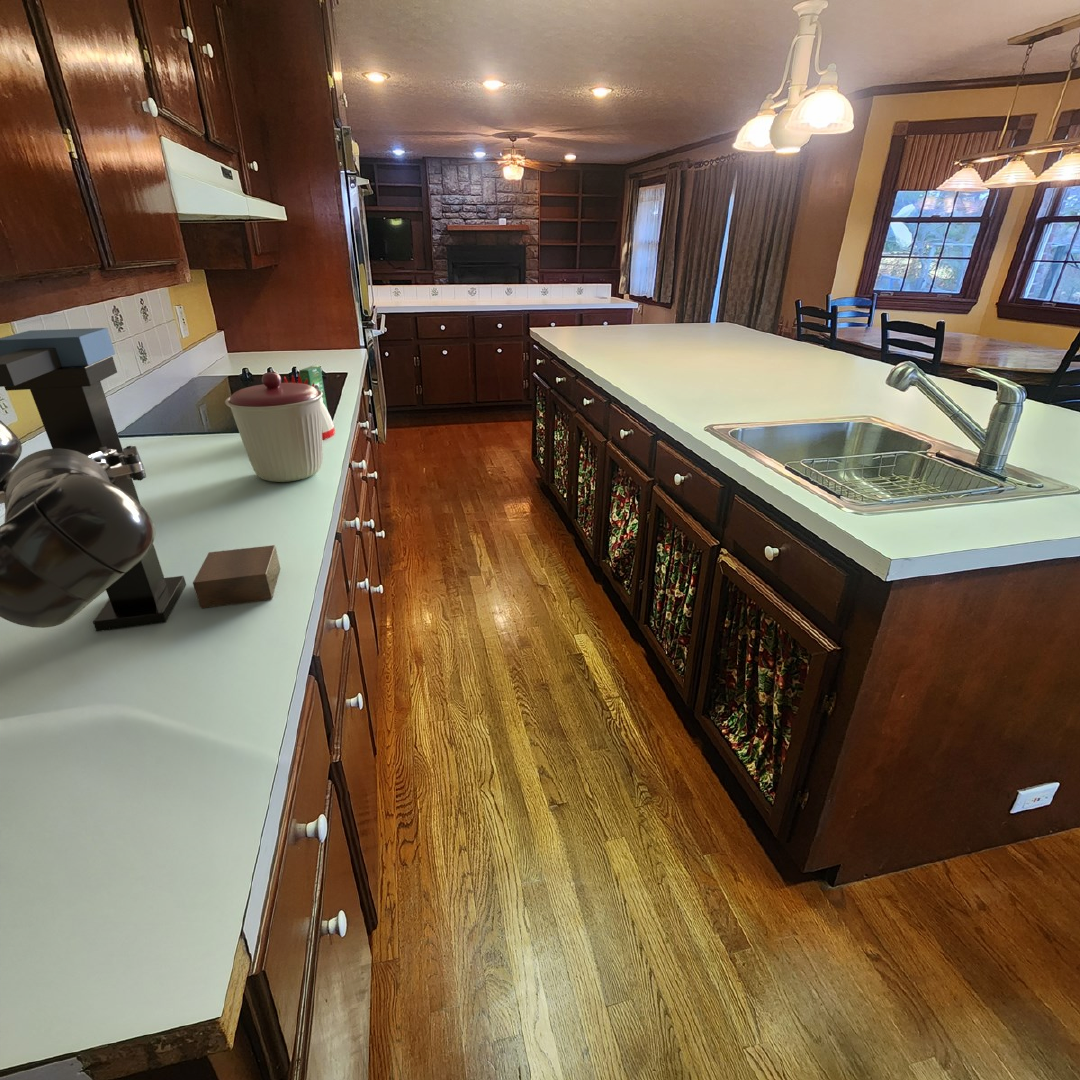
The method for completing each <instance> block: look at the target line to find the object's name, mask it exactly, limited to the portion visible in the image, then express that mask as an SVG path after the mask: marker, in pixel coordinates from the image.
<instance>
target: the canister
mask: <svg viewBox="0 0 1080 1080" xmlns="http://www.w3.org/2000/svg"><path fill="white" fill-rule="evenodd" d="M261 382H262V384H255V385H252V386H248V387H244V388H241V389H239V390H236V391H235V392H233V393H232V394H231V395H230V396H229V397H226V399H225V400H224V403H225V405H226V406H227V407H229V408H230V411H231V414H232V417H233V419H234V422H235V425H236V428H237V430H238V433H239V436H240V439H241V441H242V445H243V447H244V449H245V452H246V455H247V457H248V460H249V462H250V465H251V467H252V470H253V471H254V473H255V474H256V475H257V476H258V477H259V478H260V479H262V480H264V481H267V482H275V483H278V482H279V483H286V482H287V483H288V482H295V481H299V480H301V481H302V480H305V479H308V478H310V477H313V476H314V475H316V474H317V473H318V472H319V471H320V470H321V468H322V466H323V463H324V462H323V461H324V449H323V448H324V447H323V443H324V442H323V440H322V423H321V406H320V398H321V397H322V395H323V393H322V391H320V390H318V389H315V388H314V387H312V386H310V385H307V384H301V383H298V382H296V383H292V382H288V383H285V382H282V377H281V375H280V374H279V373H277V372H274V371H273V372H272V371H269V372H266V373H264V374H263V375H262V377H261Z"/></svg>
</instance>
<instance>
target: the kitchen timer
mask: <svg viewBox="0 0 1080 1080" xmlns="http://www.w3.org/2000/svg"><path fill="white" fill-rule="evenodd" d="M297 377H298V378H297V382H296V380H295V377H294V375H293V374H292V375H291V383H301V384H303V383H302V381H301V378H300V374H298V375H297ZM283 379H284V381H283V382H284V383H289V381H288V380H287V377H286V376H283ZM307 383H308V380H307V379H306V380H305V383H304V384H307ZM312 387H314V383H313V385H312ZM320 406H321V423H322V441H324V440H327V439H329V438H331V437H333V436H335V434H336V430H335V424H334V421H333V418H332V416H331V414H330V412H329V410H328V407H327V408H326V407H325V405H324V404H323V402H322V401H321V400H320ZM326 438H327V439H326Z"/></svg>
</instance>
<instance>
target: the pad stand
mask: <svg viewBox="0 0 1080 1080" xmlns="http://www.w3.org/2000/svg"><path fill="white" fill-rule="evenodd" d="M117 373H118V370H117V366H116V364H115V360H114V356H113V355H112V356H109V357H107V358H105V359H102V360H100V361H98V362H95V363H93V364H91V365H89V366H71V367H61V368H58V369H56V370H53V371H51V372H48V373H46V374H43V375H41V376H38V377H36V378H33V379H31V380H28V381H26V382H23V383H21V384H18V385H16V386H5V387H4V390H5V391H6V392H7V391H8V392H10V391H25V390H26V391H27V390H29V391H30V394H31V396H32V399H33V402H34V404H35V407H36V409H37V412H38V414H39V417H40V420H41V422H42V424H43V428H44V431H45V432H46V436H47V438H48V441H49V444H50V446H51V449H56V448H58V449H68V450H73V451H77V452H80V453H82V454H86V453H90V452H99V451H100V449H99V448H101V447H107V449H116V451H117V453H123V449H124V448H123V446H122V443H121V441H120V437H119V434H118V432H117V427H116V425H115V422H114V418H113V416H112V412H111V410H110V407H109V404H108V400H107V398H106V395H105V391H104V389H103V386H102V382H101V381H103V380H105V379H108V378H109V377H112V376H114V375H115V374H117ZM112 484H113V485H115V486H117V487H119V488H120V489H122V490H123V491H125V492H126V493H128V494H129V495H130V496H132V497H133V498H134V499H135V500H136V501H137V502H138V503H139V504H140V505H141V501H140V498H139V496H138V492H137V489H136V486H135V483H134V480H133V479H132V478H131V479H127V476H126V475H122V476H117V477H115V480H114V482H113V483H112ZM186 586H187V581H186V579H185V576H184V575H178V576H177V575H176V576H169V577H165V575H164V572H163V570H162V567H161V562H160V561H159V557H158V554H157V551H156V548H155V545H154V544H153V545H152V547H151V549H150V550H149V552H148V553H147V554H146V556H145V557H144V558H143V559H142V560H141V561H140V562H139V563H137V564H136V565H135V566H134V567H133V568H131V569H130V570H129V571H128V572H125V574H124V575H123V576H122V577H121V578H119V579H118V580H117V581H116V582H115V583H113V584H112V585H111V586H110V587H109V588H107V589H106V590H105V592H106V594H107V597H108V600H107V602H106V603H105V604H104V605H103V607H102V608H101V610H100V611H99V612H98V614H97V615H96V617H94V619H93V621H92V624H93V626H94V629H95V632H102V630H104V631H109V630H110V631H111V630H118V629H119V630H120V629H127V628H133V627H140V626H149V625H156V624H165V623H167V621H168V619H169V618H170V615H171V614H172V612H173V610H174V608H175V606H176V604H177V603H178V601H179V599H180V597H181V595H182V593H183V591H184V590H185V588H186Z"/></svg>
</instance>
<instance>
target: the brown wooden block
mask: <svg viewBox="0 0 1080 1080" xmlns="http://www.w3.org/2000/svg"><path fill="white" fill-rule="evenodd" d="M277 552H278V551H277V547H276V545H275V544H273V545H263V546H254V547H246V548H236V549H227V550H219V551H209V552H208V553H207V555H206V556H205V558H204V561H203V563H202V565H201V566H200V568H199V570H198V572H197V574H196V576H195V577H194V580H193V581H192V586H193V588H194V592H195V595H196V598H197V601H198V605H199V608H200V609H205V608H207V609H208V608H214V607H215V608H216V607H222V606H229V605H230V606H231V605H238V604H246V603H255V602H261V601H262V602H263V601H270V600H273V596H274V593H275V589H276V586H277V583H278V578H279V576H280V571H281V565H280V561H279V556H278V553H277Z"/></svg>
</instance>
